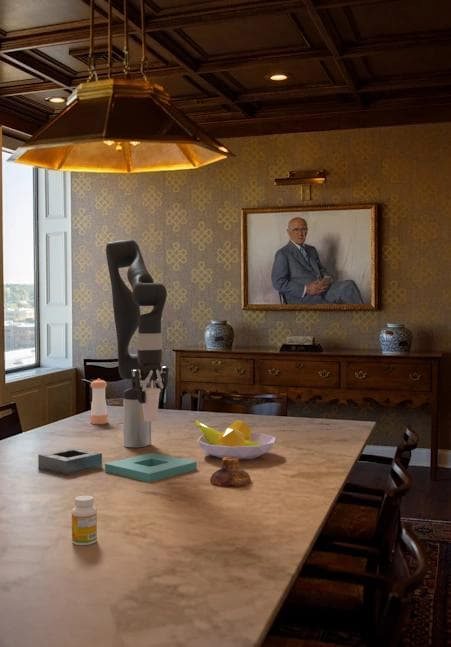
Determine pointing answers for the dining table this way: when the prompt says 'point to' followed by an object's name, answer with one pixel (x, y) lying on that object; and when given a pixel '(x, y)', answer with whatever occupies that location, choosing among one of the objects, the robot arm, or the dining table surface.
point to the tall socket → (70, 461)
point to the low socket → (143, 470)
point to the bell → (230, 474)
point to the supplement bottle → (84, 521)
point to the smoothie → (151, 403)
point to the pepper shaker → (98, 402)
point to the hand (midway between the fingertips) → (150, 401)
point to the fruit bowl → (234, 441)
